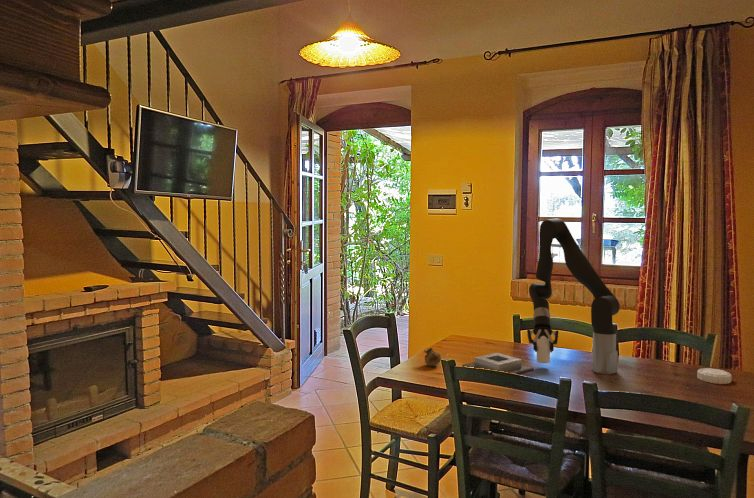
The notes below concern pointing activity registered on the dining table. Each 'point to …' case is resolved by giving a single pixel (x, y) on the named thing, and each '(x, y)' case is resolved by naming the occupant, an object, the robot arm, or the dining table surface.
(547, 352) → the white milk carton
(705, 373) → the mooncake
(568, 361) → the dining table surface
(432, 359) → the onion
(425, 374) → the dining table surface
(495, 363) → the socket
